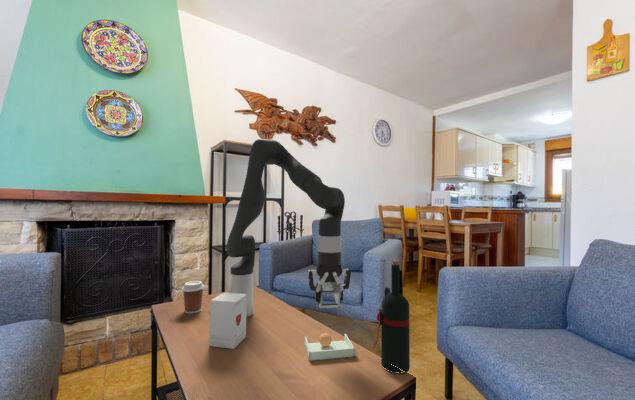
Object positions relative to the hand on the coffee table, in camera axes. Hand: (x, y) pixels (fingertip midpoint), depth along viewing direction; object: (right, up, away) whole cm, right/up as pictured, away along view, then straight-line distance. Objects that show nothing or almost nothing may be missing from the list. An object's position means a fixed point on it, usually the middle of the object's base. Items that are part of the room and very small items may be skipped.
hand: (328, 302), depth 89 cm
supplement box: (-33, -15, +5) cm, 37 cm away
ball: (-1, -13, +2) cm, 13 cm away
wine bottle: (+18, -15, -9) cm, 25 cm away
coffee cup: (-57, -16, +32) cm, 68 cm away
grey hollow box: (0, 0, +2) cm, 3 cm away
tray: (0, -15, 0) cm, 15 cm away
